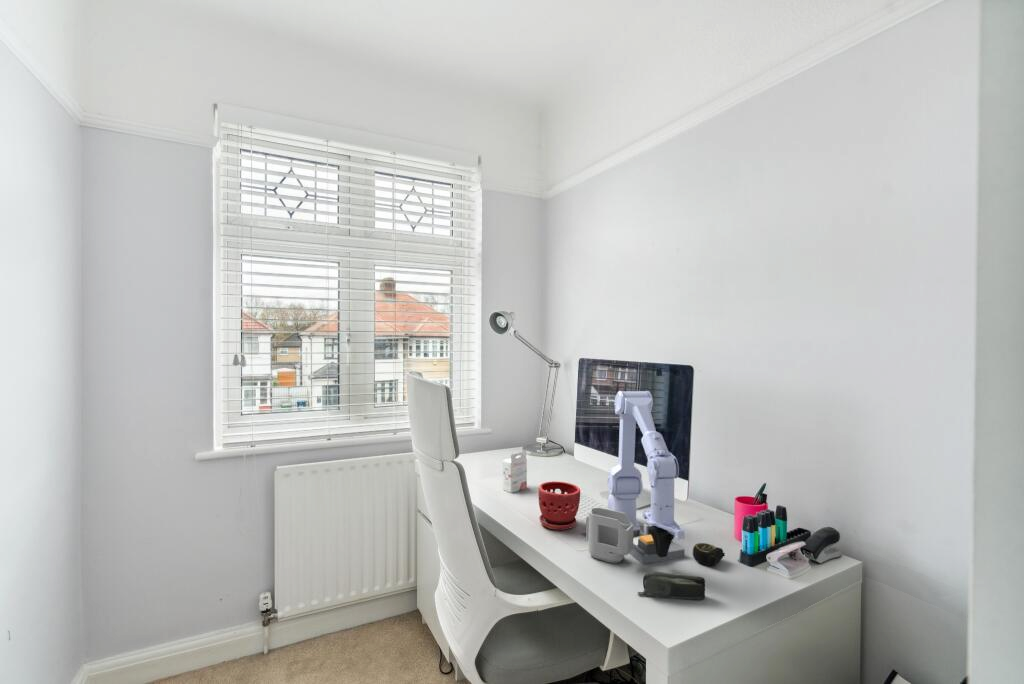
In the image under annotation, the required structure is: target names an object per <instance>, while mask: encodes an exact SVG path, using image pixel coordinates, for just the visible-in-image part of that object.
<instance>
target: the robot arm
mask: <svg viewBox="0 0 1024 684" xmlns="http://www.w3.org/2000/svg"><path fill="white" fill-rule="evenodd" d="M653 406H654V400H653V395H652V393H651V392H650V391H649V390H643V391H640V390H639V391H637V390H635V391H634V390H633V391H632V390H631V391H624V390H623V391H622V390H619V391H618V392H617V393H616V395H615V397H614V412H615V413H614V414H615V415H618V416H619V432H618V433H619V435H618V437H619V438H618V461H617V462H618V463H617V464H616V465H614V466H613V467H611V468H610V469H609V472H608V477H607V489H608V493H609V496H608V497H607V509H609V510H613V511H618V512H623V513H626V515H627V516H628V518H629V520H630V522H631V523H632V524H633V527H639V526H640V525H641V524H642V523H640V522H638V521H637V499H638V498H639V495H641V494H642V492H643V486H644V484H643V480H642V479H643V478H642V472H641V471H640V470H639V468H638V467H636V466H635V457H636V456H635V453H636V452H635V450H636V429H637V427H636V425H638V427H639V429H640V432H641V433H642V437H641V440H640V441H641V445H642V447H643V450H644V453H645V456H646V458H647V463H646V467H647V468H646V469H647V474H648V482H649V485H650V510H649V509H646V510H642V519H645V520H647V521H646V524H647V523H648V524H649V525H651V526H649V527H648V530H649V531H650V533H651V535H652V538H653V540H654V544H655V548H656V552H657V555H658V556H659V557H666V556H667V554H668V550H669V547H670V544H671V542H673V540H674V538H675V539H676V540H683V539H685V530H684V529H683V528H681V527H680V525H679V524H678V523H677V522H676V520H675V479H677V478H678V477H679V475H680V474H679V473H680V466H679V462H678V458H677V457H676V456H675V455H674V454H672V453H673V452H670V451H669V450H668V447H667V445H666V441H665V440H664V437H663V434H661V432H658V431H656V429H657V428H656V426H655V424H654V423H655V421H654V419H653V416H652V411H653ZM621 524H623V523H621ZM625 525H628V524H625Z"/></svg>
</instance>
